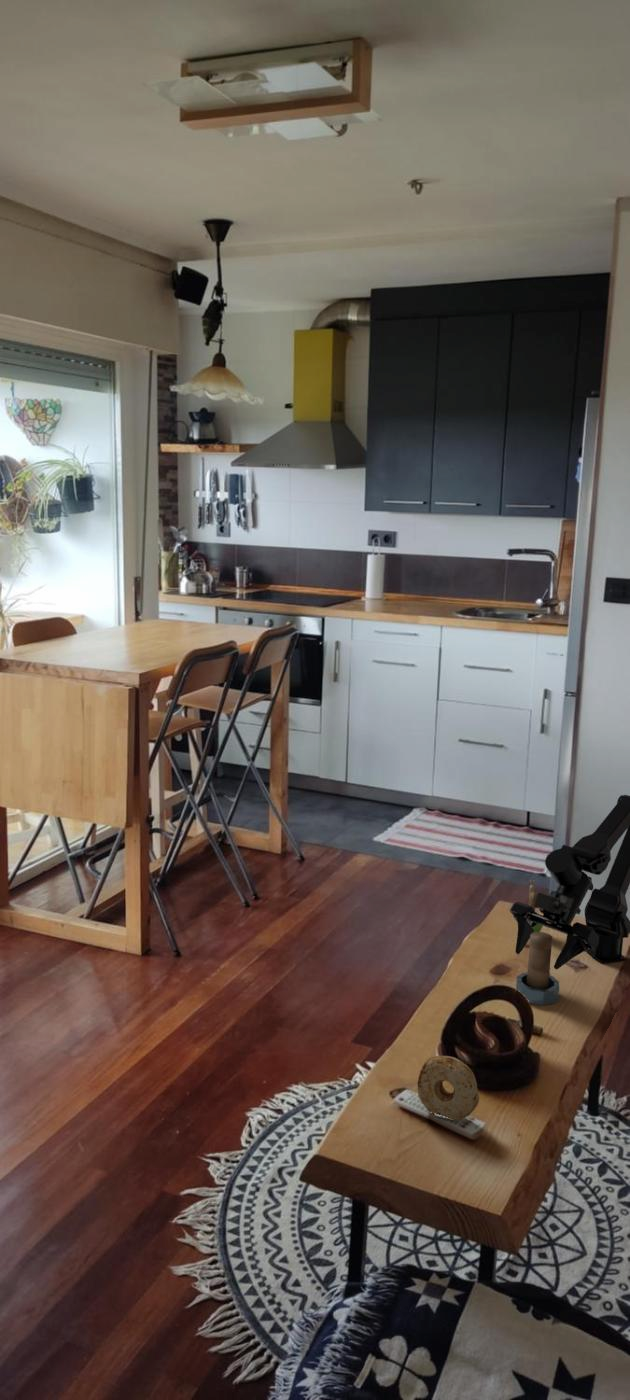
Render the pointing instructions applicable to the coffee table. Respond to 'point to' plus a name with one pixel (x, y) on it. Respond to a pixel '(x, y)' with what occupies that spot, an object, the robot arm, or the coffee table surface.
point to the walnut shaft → (539, 960)
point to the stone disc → (437, 1097)
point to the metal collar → (538, 991)
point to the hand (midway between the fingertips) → (535, 960)
